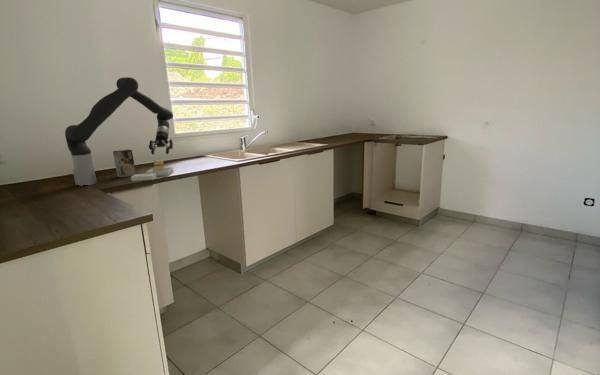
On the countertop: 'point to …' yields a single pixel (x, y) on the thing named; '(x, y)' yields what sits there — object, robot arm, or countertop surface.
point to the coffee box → (124, 163)
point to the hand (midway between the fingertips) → (159, 153)
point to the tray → (161, 172)
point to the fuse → (159, 166)
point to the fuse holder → (143, 177)
